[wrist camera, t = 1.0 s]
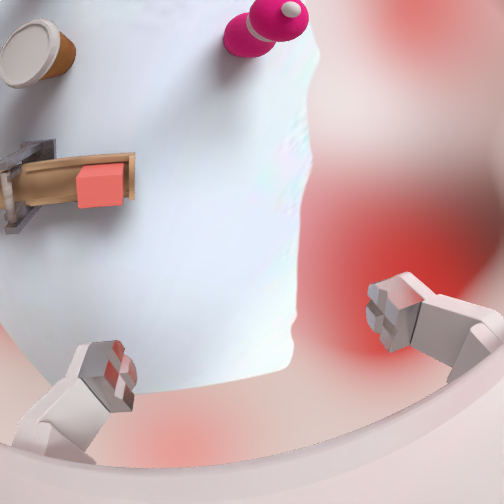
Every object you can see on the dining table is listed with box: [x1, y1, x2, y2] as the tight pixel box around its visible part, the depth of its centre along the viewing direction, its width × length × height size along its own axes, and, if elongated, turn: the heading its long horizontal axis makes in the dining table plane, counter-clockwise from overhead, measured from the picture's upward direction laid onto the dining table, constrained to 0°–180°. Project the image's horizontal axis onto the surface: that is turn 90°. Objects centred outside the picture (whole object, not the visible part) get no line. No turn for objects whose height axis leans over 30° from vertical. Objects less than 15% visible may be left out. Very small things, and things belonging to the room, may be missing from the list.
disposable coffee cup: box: [0, 19, 76, 89], centre depth 21 cm, size 10×10×12 cm
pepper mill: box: [223, 0, 309, 58], centre depth 25 cm, size 7×7×20 cm
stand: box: [0, 139, 56, 234], centre depth 29 cm, size 11×7×12 cm, turn 172°
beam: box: [0, 153, 135, 224], centre depth 29 cm, size 7×34×9 cm, turn 82°
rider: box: [76, 162, 124, 208], centre depth 32 cm, size 4×6×6 cm, turn 82°
